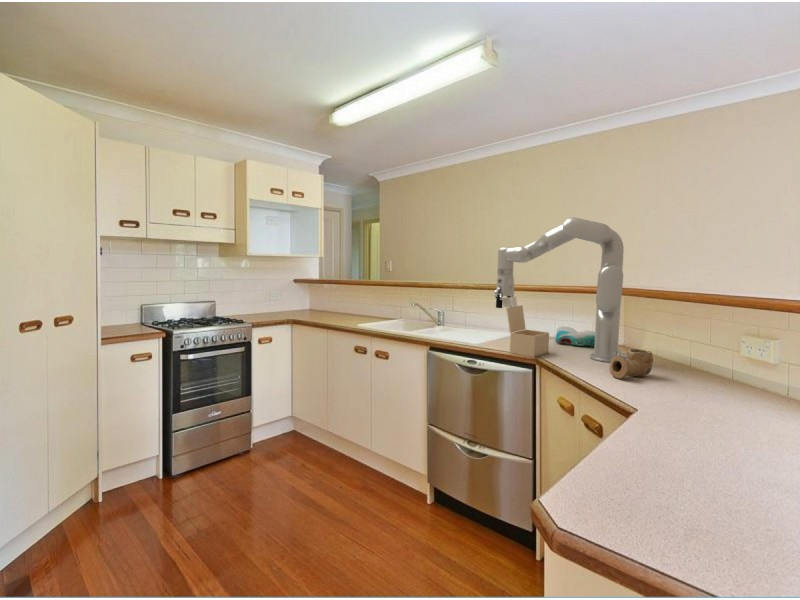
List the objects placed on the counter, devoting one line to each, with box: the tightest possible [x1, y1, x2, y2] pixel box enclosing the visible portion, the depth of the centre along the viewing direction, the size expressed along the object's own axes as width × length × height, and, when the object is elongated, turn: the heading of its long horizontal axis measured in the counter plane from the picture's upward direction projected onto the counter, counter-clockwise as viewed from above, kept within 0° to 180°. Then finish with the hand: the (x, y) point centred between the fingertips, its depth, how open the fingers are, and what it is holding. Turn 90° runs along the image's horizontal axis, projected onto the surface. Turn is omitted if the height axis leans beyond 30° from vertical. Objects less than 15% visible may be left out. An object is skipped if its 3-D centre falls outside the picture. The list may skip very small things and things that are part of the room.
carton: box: [509, 329, 550, 358], centre depth 195 cm, size 12×15×10 cm
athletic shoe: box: [554, 325, 595, 348], centre depth 212 cm, size 26×9×12 cm
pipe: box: [609, 348, 654, 380], centre depth 155 cm, size 9×16×10 cm, turn 111°
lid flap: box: [502, 296, 527, 334], centre depth 201 cm, size 17×15×6 cm
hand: (504, 307), depth 203 cm, fingers open, 9 cm apart
